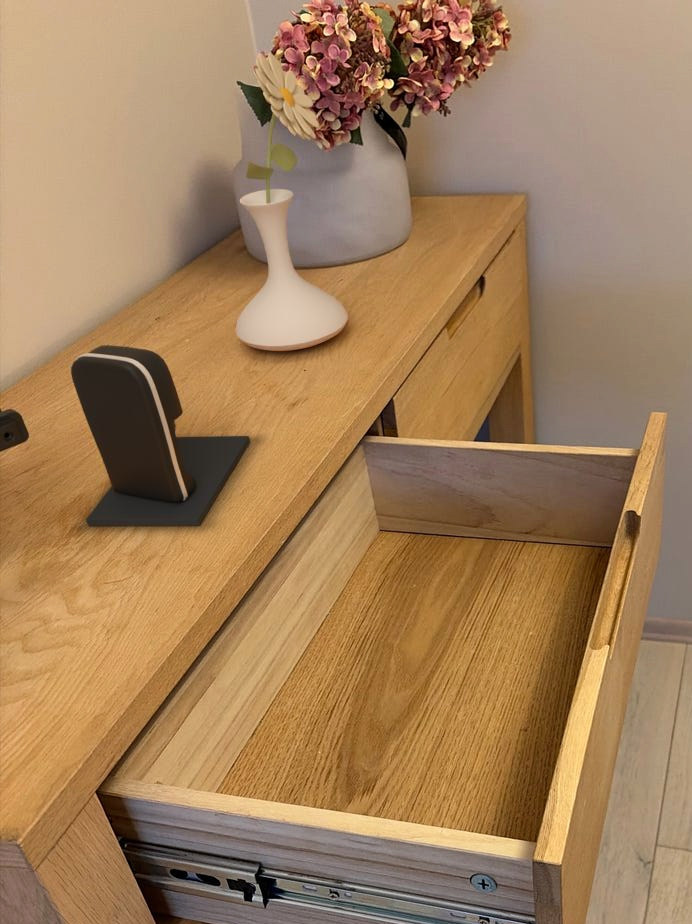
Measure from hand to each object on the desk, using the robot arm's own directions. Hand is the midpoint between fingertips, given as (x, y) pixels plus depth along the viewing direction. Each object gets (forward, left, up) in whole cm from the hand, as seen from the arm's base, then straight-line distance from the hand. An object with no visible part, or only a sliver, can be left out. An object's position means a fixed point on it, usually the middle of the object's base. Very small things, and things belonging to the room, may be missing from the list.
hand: (8, 414), depth 67 cm
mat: (+6, +9, -10) cm, 15 cm away
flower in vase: (+9, +38, -11) cm, 40 cm away
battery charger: (+6, +7, -10) cm, 13 cm away
